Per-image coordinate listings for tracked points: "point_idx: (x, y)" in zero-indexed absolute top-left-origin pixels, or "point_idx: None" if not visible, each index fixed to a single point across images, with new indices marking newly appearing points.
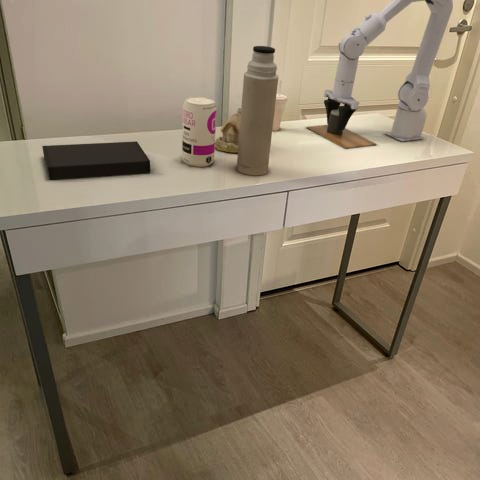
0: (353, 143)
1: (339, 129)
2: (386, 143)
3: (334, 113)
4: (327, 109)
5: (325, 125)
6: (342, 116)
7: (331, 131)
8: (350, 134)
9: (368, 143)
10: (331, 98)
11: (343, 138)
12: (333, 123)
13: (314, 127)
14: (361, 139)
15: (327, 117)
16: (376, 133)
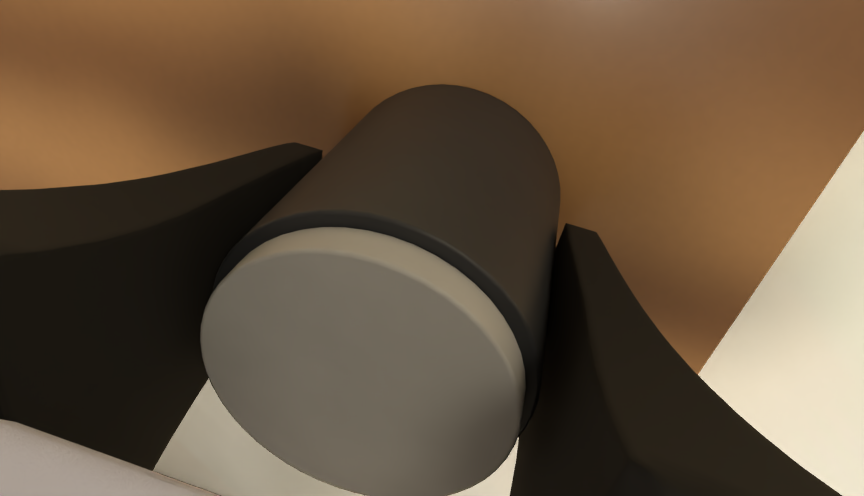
0: (16, 19)
1: (284, 144)
2: None
3: (320, 243)
4: (637, 367)
5: (711, 326)
6: (69, 194)
7: (415, 96)
8: None
9: (11, 183)
10: (27, 469)
11: (202, 69)
12: (364, 142)
13: (796, 106)
14: None
15: (604, 275)
16: (278, 486)
